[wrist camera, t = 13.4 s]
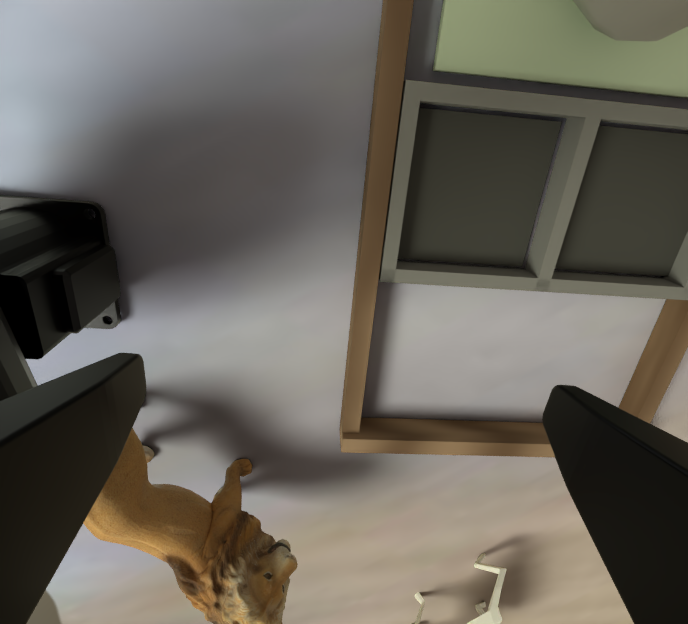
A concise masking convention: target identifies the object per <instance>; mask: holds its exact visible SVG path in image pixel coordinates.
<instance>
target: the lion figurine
mask: <svg viewBox="0 0 688 624" xmlns="http://www.w3.org/2000/svg"><path fill="white" fill-rule="evenodd" d="M153 457H154V452H153V450H152V449H150V448H149V447H147V446H142V443H141V441H140V440H139V438H138V436H137V435H136V433H135V432H134V430H133V428H132V430H131V432H130V434H129V437H128V439H127V441H126V444H125V446H124V448H123V451H122V453H121V455H120V457H119V460H118V462H117V464H116V465H115V467H114V469H113V471H112V473H111V475H110V476H109V478H108V480H107V482H106V483H105V485H104V487H103V489H102V491H101V492H100V494H99V496H98V498H97V499H96V501H95V503H94V505H93V506H92V508H91V510H90V512H89V514H88V515H87V517H86V519H85V521H84V522H83V523H84V525H85V526H86V527H87V528H88V529H89V531H90V532H91V533H92V534H93V535H94V536H95V537H97V538H98V539H100V540H104V541H108V542H113V543H118V544H123V545H127V546H130V547H134V548H136V549H139V550H142V551H144V552H147V553H149V554H151V555H153V556H155V557H157V558H159V559H161V560H163V561H165V562H167V563H168V564H169V565H170V566H171V567H172V569H173V570H174V573H175V576H176V579H177V582H178V585H179V587H180V589H181V590H182V592H183V593H185V594H186V598H188V599H189V600H190V601H191V603H192V605H193V606H194V607H195V608H196V609H199V610H200V611H202V612H203V613H204V615H205V619H206V620H207V621H211V622H212V623H213V624H282V615H283V610H284V608H285V602H286V595H287V590H288V586H289V582H290V579H289V576H290V575H291V574H292V573H293V572H294V571H295V570H296V568H297V561H296V558H295V556H294V555H292V554H291V553H290V552H291V551H290V544H289V542H288V541H286V540H284V539H282V540H279V541H278V542H275V540H274V538H273V537H272V536H271V535H268V534H266V533H264V532H263V531H262V530H261V523H260V521H259V520H258V519H257V518H256V517H254V516H253V515H250V514H248V513H247V512H245V511H242V510H241V499H242V495H241V484H240V476H246V475H248V474H250V473H251V471H252V464H251V463H250V461H249V459H239V460H236V461H234V462H233V463H232V464H231V465H230V467H228V468H227V470H226V478H225V483H224V486H223V487H222V488H221V489H219V490H218V492H217V493H216V494H215V496H214V499H213V501H212V503H210V502H208V501H207V500H206V499H204V498H203V497H201V496H199V495H198V494H196V493H194V492H192V491H191V490H188V489H185V488H182V487H179V486H176V485H170V484H153V485H151V484H150V483H149V481H148V474H147V463H148V462H150V461H151V460H152V459H153Z"/></svg>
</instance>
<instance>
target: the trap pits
mask: <svg viewBox="0 0 688 624" xmlns="http://www.w3.org/2000/svg"><path fill="white" fill-rule="evenodd" d="M420 103H422V104H432V105H442V106H452V107H462V108H472V109H482V110H492V111H502V112H512V113H522V114H532V115H542V116H552V117H562V118H567V119H566V123H565V126H564V130H563V133H562V137H561V141H560V144H559V148H558V151H557V155H556V158H555V162H554V166H553V169H552V173H551V176H550V180H549V184H548V187H547V191H546V194H545V198H544V201H543V205H542V209H541V212H540V216H539V219H538V223H537V227H536V230H535V234H534V237H533V241H532V244H531V248H530V252H529V255H528V259H527V262H526V266H525V269H519V268H504V267H489V266H473V265H458V264H443V263H427V262H412V261H397V258H398V259H413V260H428V261H443V262H459V263H474V264H489V265H504V266H520V267H522V265H523V261H524V258H525V254H526V250H527V247H528V243H529V239H530V236H531V232H532V229H533V225H534V221H535V218H536V214H537V210H538V207H539V203H540V200H541V196H542V192H543V189H544V185H545V181H546V178H547V174H548V171H549V167H550V163H551V160H552V156H553V152H554V149H555V145H556V141H557V138H558V134H559V131H560V127H561V123H562V122H558V121H548V120H537V119H527V118H517V117H507V116H497V115H487V114H477V113H467V112H457V111H447V110H437V109H427V108H419V105H420ZM600 121H602V122H612V123H622V124H632V125H642V126H652V127H662V128H672V129H682V130H688V109H679V108H670V107H660V106H651V105H641V104H632V103H622V102H613V101H603V100H594V99H584V98H575V97H565V96H556V95H546V94H537V93H527V92H518V91H508V90H499V89H489V88H479V87H470V86H460V85H451V84H441V83H432V82H422V81H413V80H405V81H403V89H402V97H401V105H400V113H399V121H398V129H397V136H396V144H395V152H394V160H393V168H392V176H391V184H390V192H389V200H388V208H387V215H386V223H385V231H384V239H383V247H382V255H381V263H380V271H379V280H380V282H392V283H409V284H425V285H442V286H459V287H475V288H492V289H508V290H525V291H541V292H558V293H575V294H591V295H608V296H624V297H641V298H657V299H674V300H688V134H679V133H669V132H658V131H648V130H638V129H628V128H618V127H608V126H599V124H600ZM554 269H565V270H580V271H596V272H611V273H626V274H641V275H657V276H663V278H657V277H642V276H627V275H611V274H596V273H581V272H565V271H554Z"/></svg>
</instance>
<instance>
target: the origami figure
mask: <svg viewBox="0 0 688 624" xmlns="http://www.w3.org/2000/svg"><path fill="white" fill-rule="evenodd" d="M485 555H486V553H483V554H481V555H480V557H479V558H478V559H477V561H476V562H475V564H474V567H475V568H479V569H482V570H486V571H490V572H493V573H497V574H498V577H497V581H496V584H495V587H494V591H493V594H492V597H491V601H490V604H489V607H488V610H487V612H486V613H485V611H484V610H483V609H482V608H484V607H486V602H480V603H478V604H476V605H475V608H476V611H477V612H478V613H479V615H480V616H479V617H477V618H476V619H474V620H472V621H470V622H469V623H467V624H500V623H501V621H502V618H501V615H500V612H499V608H498V604H499V599H500V594H501V589H502V585H503V581H504V577H505V573H506V570H507V569H506V568H502V567H497V566H492V565H488V564H483V563H480V562H481V561H482V560H483V559H484V558H485ZM415 598H416V599H417V600H418V601H419V603H420V604H421V607H420V610H419V613H418V616H417V619H416V622H415V623H411V624H419V622H420V619H421V615H422V611H423V607H424V603H425V600H424V599H423V598H422V596H421V595H420V593H416V594H415Z"/></svg>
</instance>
